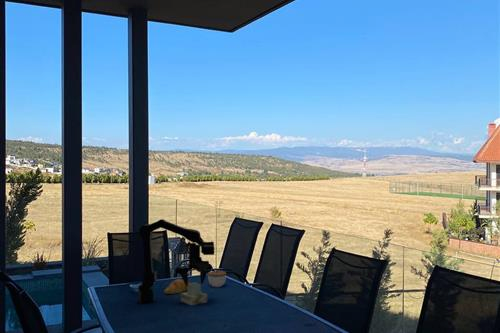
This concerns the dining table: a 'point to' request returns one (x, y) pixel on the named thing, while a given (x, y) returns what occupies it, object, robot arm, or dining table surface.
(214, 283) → the lidded jar
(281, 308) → the dining table surface
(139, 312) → the dining table surface
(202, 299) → the birch plinth
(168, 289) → the croissant
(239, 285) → the dining table surface
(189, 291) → the sage cube
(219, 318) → the dining table surface
